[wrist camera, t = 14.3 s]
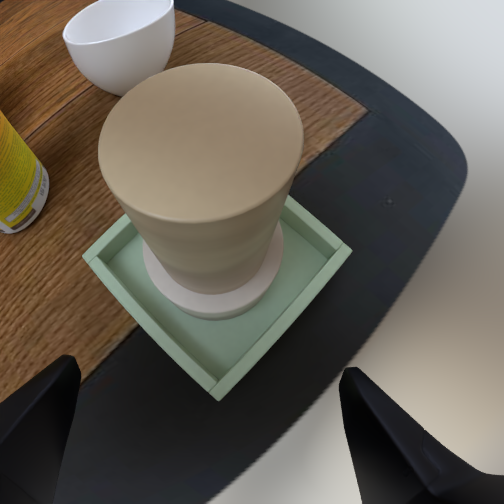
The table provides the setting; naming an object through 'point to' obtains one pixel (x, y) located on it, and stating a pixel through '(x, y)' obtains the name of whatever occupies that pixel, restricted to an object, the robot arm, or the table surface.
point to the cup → (121, 41)
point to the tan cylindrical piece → (205, 181)
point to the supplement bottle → (19, 181)
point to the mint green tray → (231, 330)
